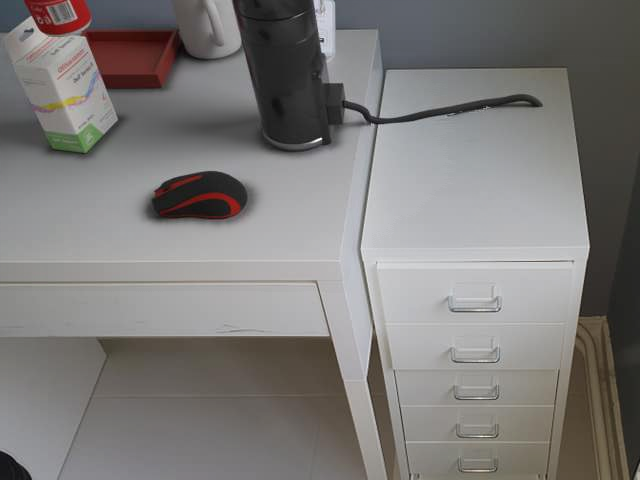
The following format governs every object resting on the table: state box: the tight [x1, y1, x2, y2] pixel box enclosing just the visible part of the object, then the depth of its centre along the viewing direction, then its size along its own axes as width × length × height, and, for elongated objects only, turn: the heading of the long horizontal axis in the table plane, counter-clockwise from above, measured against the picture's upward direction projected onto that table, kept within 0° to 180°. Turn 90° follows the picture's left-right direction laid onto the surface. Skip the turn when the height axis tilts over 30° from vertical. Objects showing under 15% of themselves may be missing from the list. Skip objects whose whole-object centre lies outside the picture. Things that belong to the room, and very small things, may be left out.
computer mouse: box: [151, 170, 248, 220], centre depth 87 cm, size 6×11×4 cm, turn 94°
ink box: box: [2, 15, 119, 154], centre depth 92 cm, size 9×5×15 cm, turn 168°
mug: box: [170, 0, 242, 60], centre depth 108 cm, size 12×8×11 cm
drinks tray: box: [79, 29, 183, 89], centre depth 108 cm, size 14×13×2 cm
